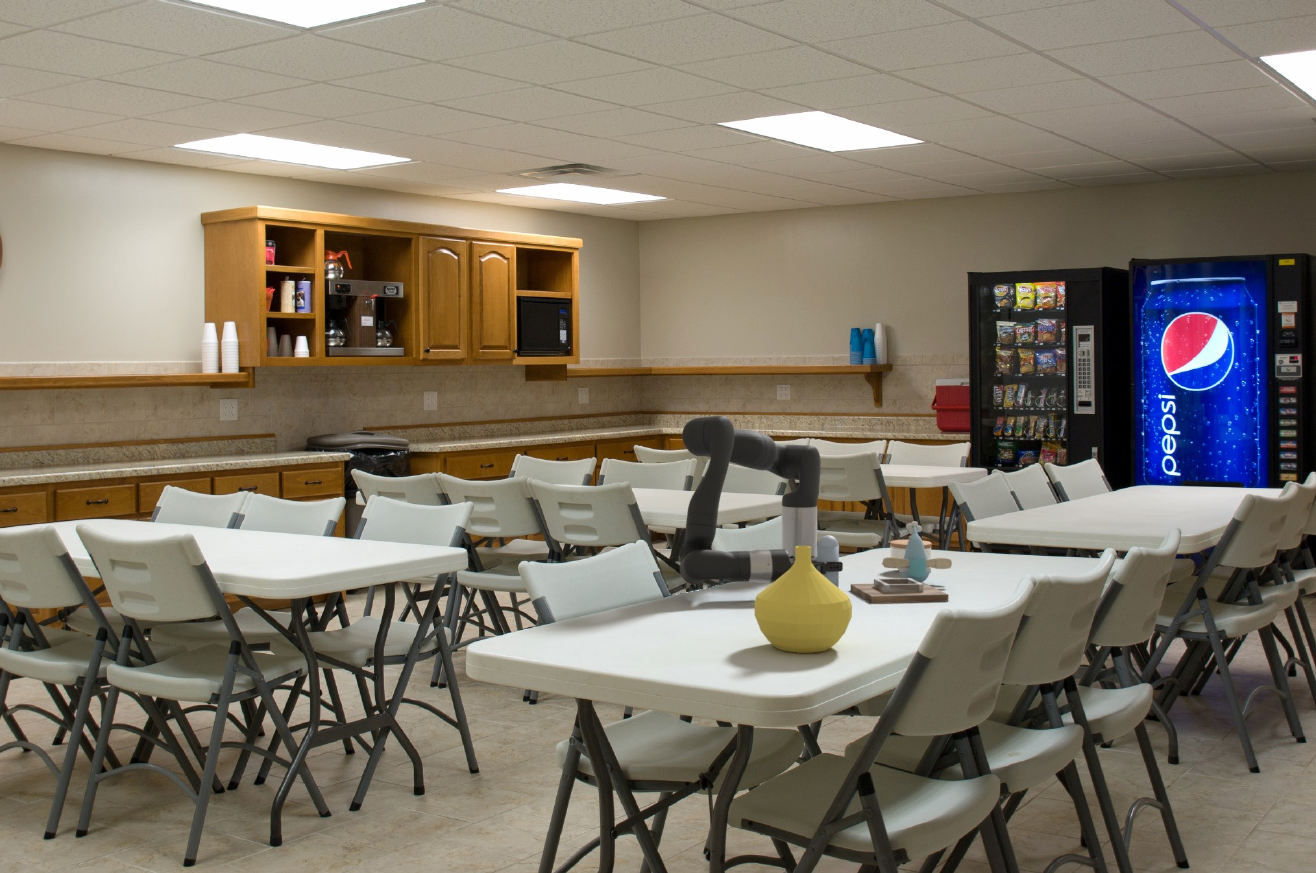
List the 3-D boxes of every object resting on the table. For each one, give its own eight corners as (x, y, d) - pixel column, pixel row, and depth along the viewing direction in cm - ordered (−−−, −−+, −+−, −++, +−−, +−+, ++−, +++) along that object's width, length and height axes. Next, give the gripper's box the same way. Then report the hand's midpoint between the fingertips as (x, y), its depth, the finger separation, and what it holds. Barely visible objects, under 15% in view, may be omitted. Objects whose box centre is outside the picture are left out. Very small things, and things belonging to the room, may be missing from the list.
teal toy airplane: (946, 580, 314) (947, 520, 313) (952, 587, 303) (952, 525, 303) (879, 579, 316) (879, 520, 315) (882, 585, 305) (883, 525, 304)
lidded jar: (900, 567, 335) (900, 532, 335) (937, 570, 329) (938, 535, 329) (882, 572, 327) (883, 536, 326) (921, 576, 320) (921, 539, 320)
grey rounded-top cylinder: (814, 595, 291) (814, 534, 291) (835, 595, 292) (835, 533, 291) (819, 599, 286) (820, 536, 286) (840, 598, 287) (841, 536, 286)
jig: (850, 590, 299) (850, 576, 298) (922, 588, 301) (923, 575, 301) (871, 603, 282) (872, 588, 282) (948, 601, 284) (948, 586, 284)
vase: (855, 640, 242) (855, 542, 241) (847, 660, 224) (848, 555, 223) (761, 635, 246) (761, 539, 245) (747, 655, 228) (747, 551, 227)
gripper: (774, 554, 280) (847, 552, 282) (760, 545, 294) (830, 544, 296) (774, 587, 280) (847, 585, 282) (760, 577, 294) (830, 575, 296)
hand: (838, 564), depth 289 cm, fingers closed on grey rounded-top cylinder, 5 cm apart
